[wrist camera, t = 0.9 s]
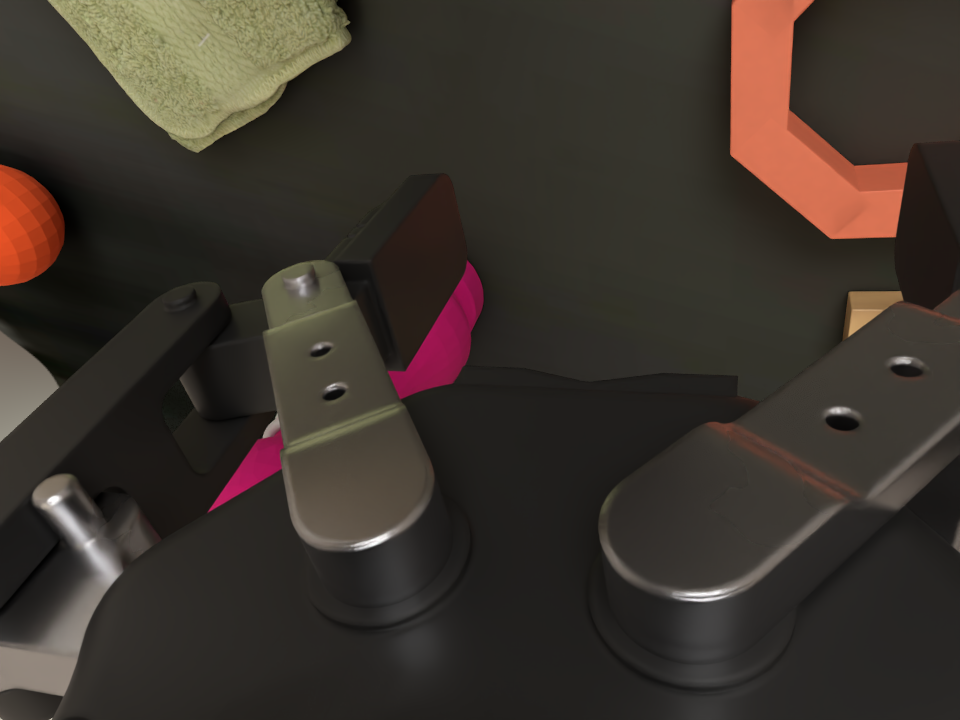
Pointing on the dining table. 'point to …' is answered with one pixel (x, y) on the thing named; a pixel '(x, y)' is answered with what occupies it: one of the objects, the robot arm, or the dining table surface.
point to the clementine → (27, 227)
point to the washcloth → (206, 55)
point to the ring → (799, 133)
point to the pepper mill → (427, 370)
